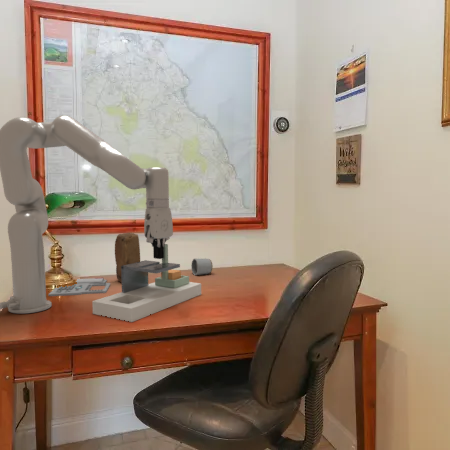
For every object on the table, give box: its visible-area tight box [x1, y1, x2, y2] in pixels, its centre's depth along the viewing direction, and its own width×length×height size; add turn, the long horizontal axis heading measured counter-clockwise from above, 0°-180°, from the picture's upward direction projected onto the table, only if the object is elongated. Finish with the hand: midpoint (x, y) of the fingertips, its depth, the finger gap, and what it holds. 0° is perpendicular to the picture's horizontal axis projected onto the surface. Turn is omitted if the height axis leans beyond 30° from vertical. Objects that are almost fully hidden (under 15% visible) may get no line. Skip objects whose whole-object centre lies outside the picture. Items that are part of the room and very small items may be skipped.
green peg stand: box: [154, 243, 190, 288], centre depth 146 cm, size 9×9×15 cm
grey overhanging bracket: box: [121, 259, 181, 293], centre depth 137 cm, size 12×15×9 cm
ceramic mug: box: [190, 258, 214, 276], centre depth 185 cm, size 10×8×7 cm
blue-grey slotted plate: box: [48, 277, 111, 297], centre depth 160 cm, size 23×3×20 cm
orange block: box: [160, 269, 182, 280], centre depth 146 cm, size 5×5×5 cm
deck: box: [92, 281, 202, 323], centre depth 137 cm, size 36×16×4 cm, turn 149°
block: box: [114, 232, 141, 283], centre depth 169 cm, size 11×8×20 cm
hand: (158, 258), depth 140 cm, fingers closed
